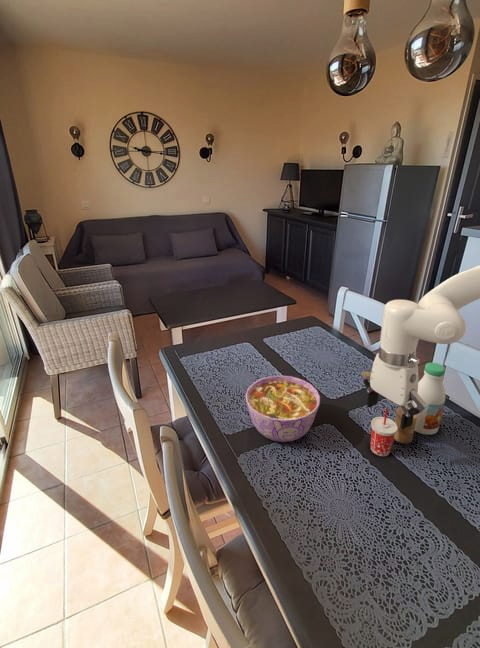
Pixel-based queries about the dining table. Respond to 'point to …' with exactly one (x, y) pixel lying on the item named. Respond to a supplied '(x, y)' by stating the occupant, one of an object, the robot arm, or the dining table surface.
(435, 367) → the milk bottle
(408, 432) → the cylinder
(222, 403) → the dining table surface
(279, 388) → the bowl of food
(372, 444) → the beverage cup
